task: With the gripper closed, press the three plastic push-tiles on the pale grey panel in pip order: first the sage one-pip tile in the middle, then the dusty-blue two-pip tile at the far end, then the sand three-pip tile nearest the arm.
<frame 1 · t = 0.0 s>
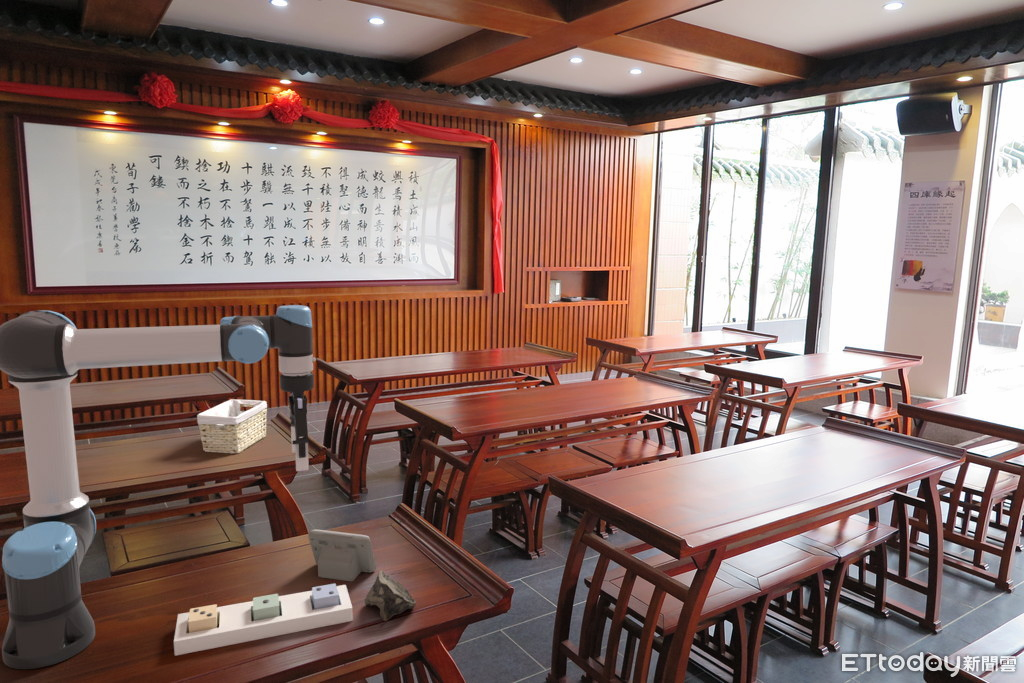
hand: (300, 460, 158), 28 cm above the table, tool pointing down, fingers open, 13 cm apart
tile three: (203, 620, 136), point 3 cm above the table, slide at 0.0 cm
grey rock: (393, 609, 148), on the table
tile two: (325, 598, 145), point 3 cm above the table, slide at 0.0 cm
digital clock: (343, 572, 163), on the table
tile panel: (267, 624, 141), on the table
tile one: (266, 609, 140), point 3 cm above the table, slide at 0.0 cm
storage basket: (235, 445, 256), on the table
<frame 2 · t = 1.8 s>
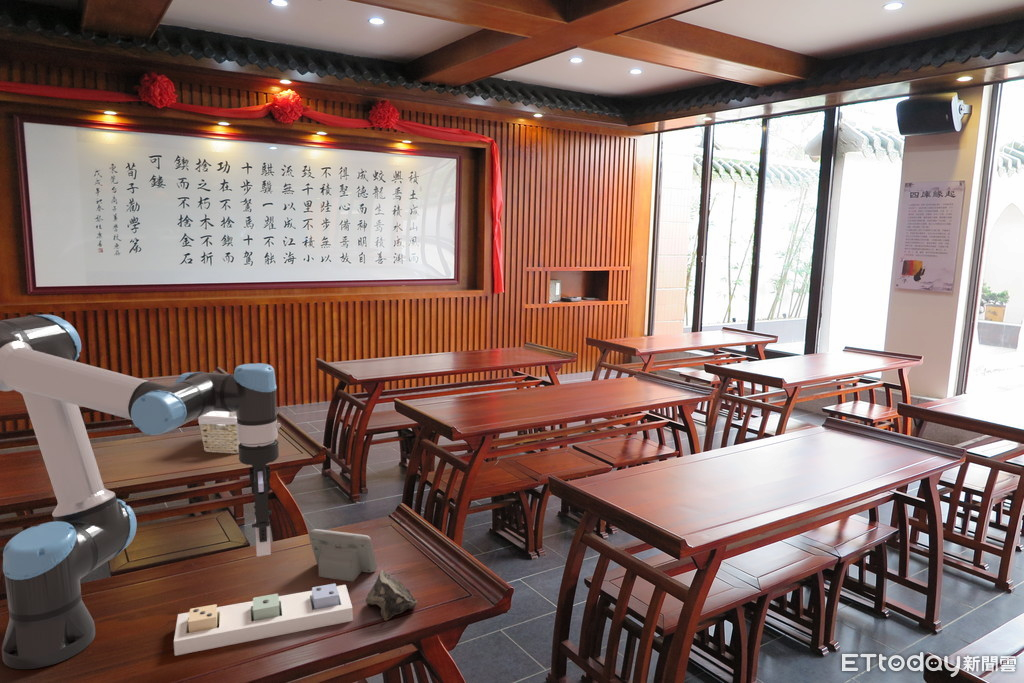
hand: (263, 550, 138), 17 cm above the table, tool pointing down, fingers open, 3 cm apart
nothing on the table moved.
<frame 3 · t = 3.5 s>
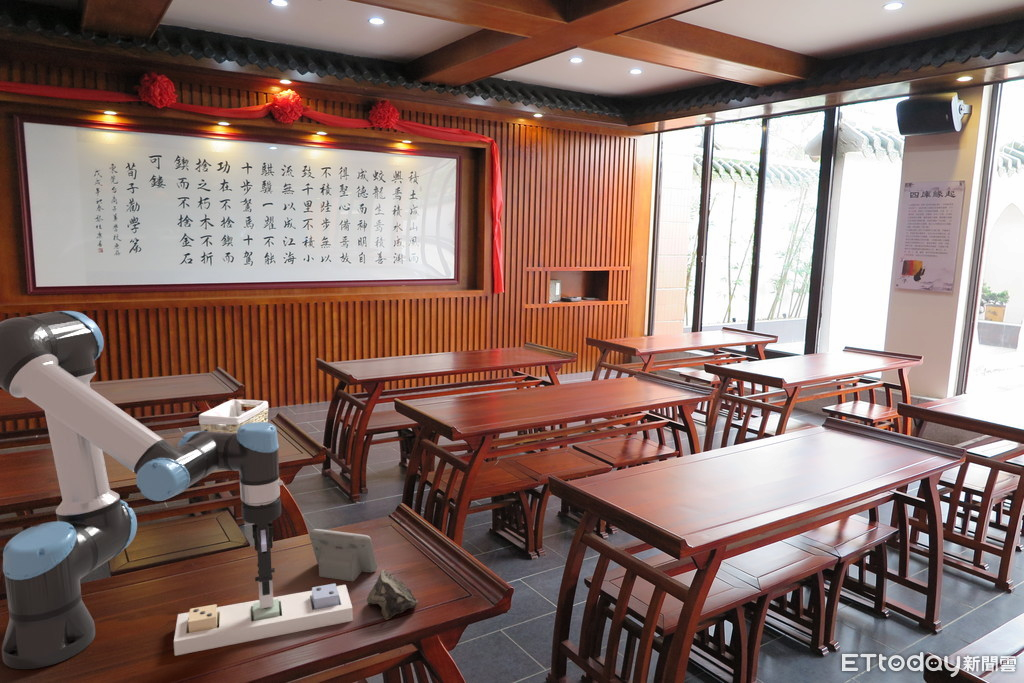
hand: (266, 605, 140), 4 cm above the table, tool pointing down, fingers closed
tile one: (266, 615, 140), point 2 cm above the table, slide at 1.3 cm, touching gripper
everything else where it was.
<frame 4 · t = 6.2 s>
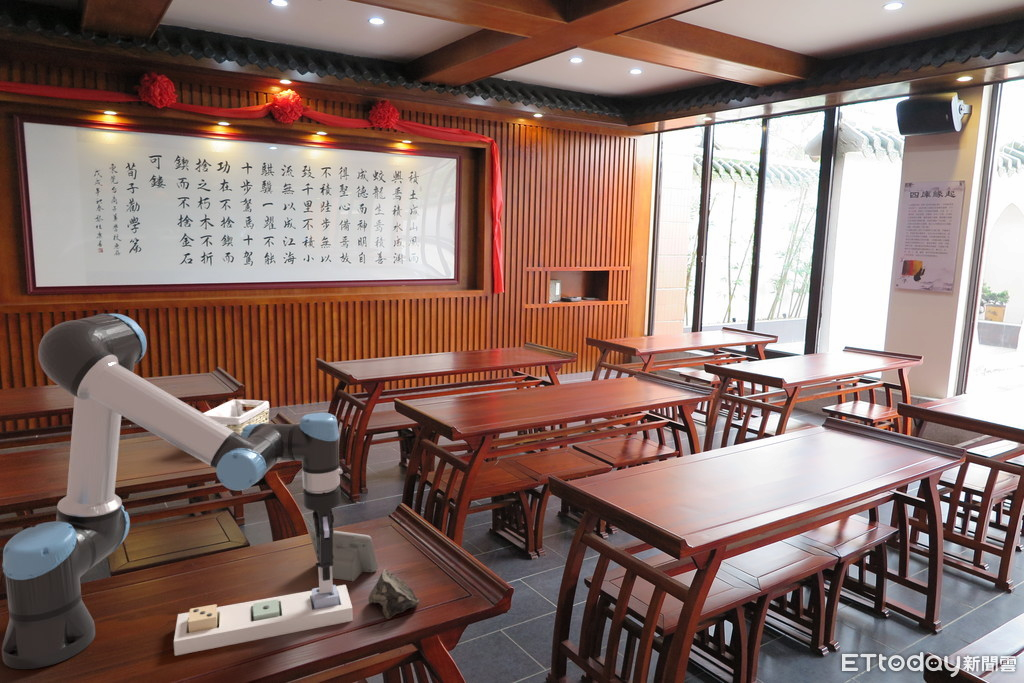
hand: (326, 590, 144), 5 cm above the table, tool pointing down, fingers closed
tile two: (325, 599, 145), point 3 cm above the table, slide at 0.3 cm, touching gripper
tile one: (266, 615, 140), point 2 cm above the table, slide at 1.3 cm
everything else where it was.
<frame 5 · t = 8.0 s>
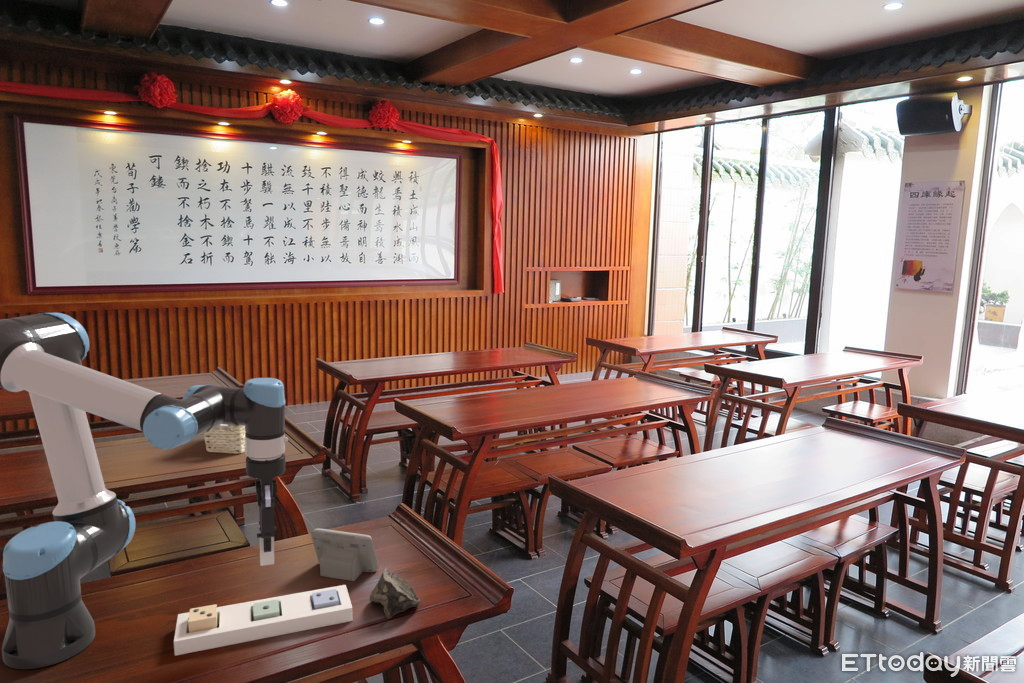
hand: (267, 563, 139), 13 cm above the table, tool pointing down, fingers closed
tile two: (325, 604, 145), point 2 cm above the table, slide at 1.3 cm
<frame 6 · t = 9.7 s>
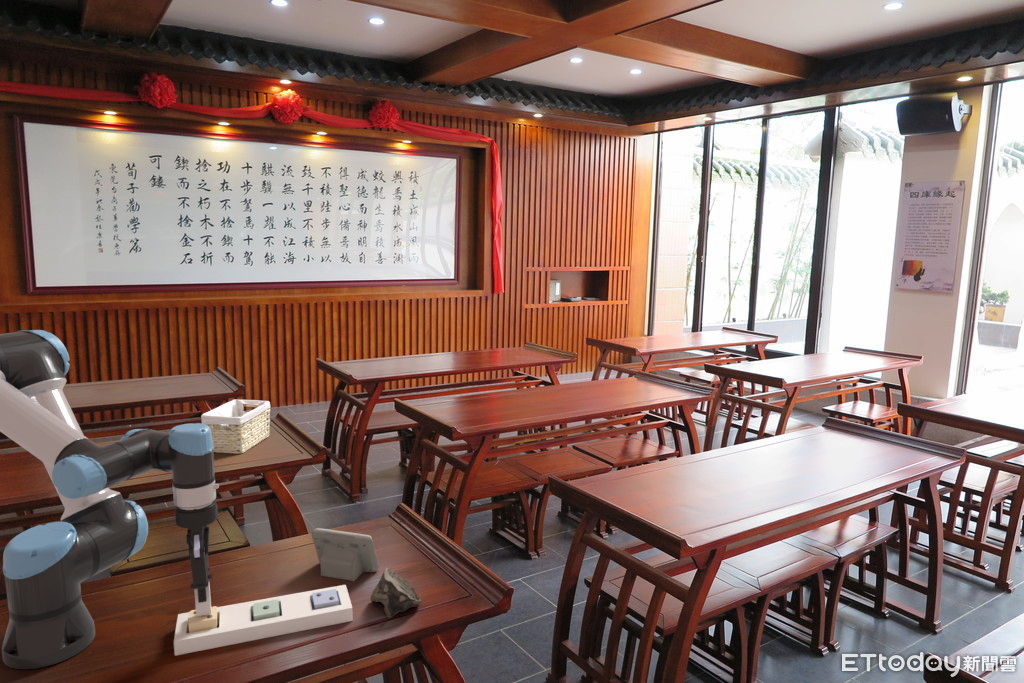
hand: (203, 613, 135), 5 cm above the table, tool pointing down, fingers closed
tile three: (203, 622, 136), point 3 cm above the table, slide at 0.4 cm, touching gripper
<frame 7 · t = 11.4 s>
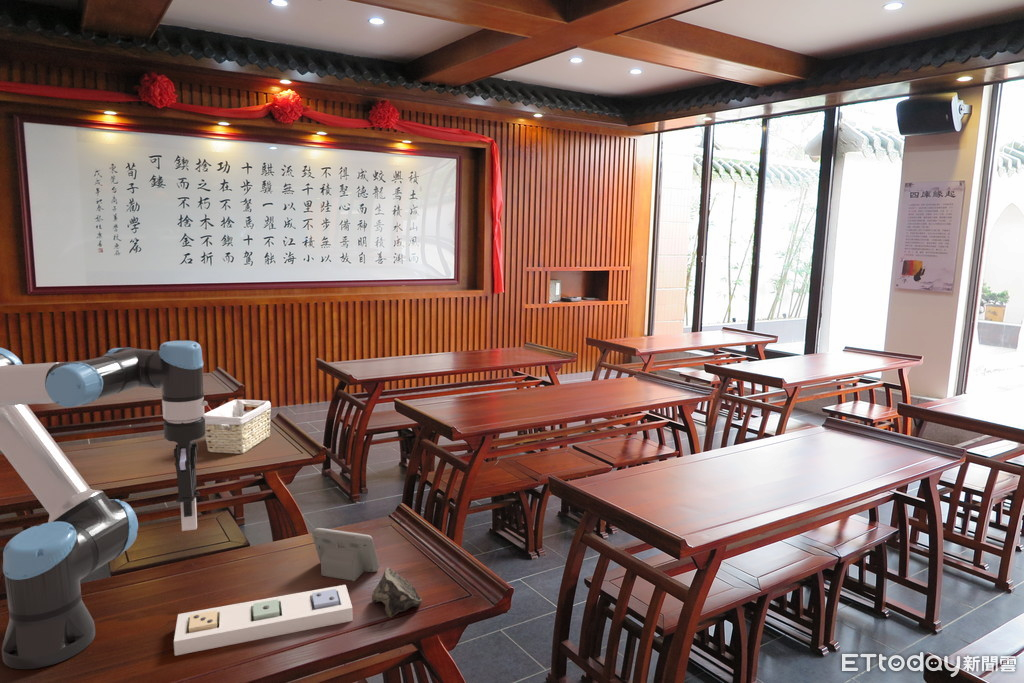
hand: (189, 528, 138), 21 cm above the table, tool pointing down, fingers closed
tile three: (203, 627, 136), point 2 cm above the table, slide at 1.4 cm
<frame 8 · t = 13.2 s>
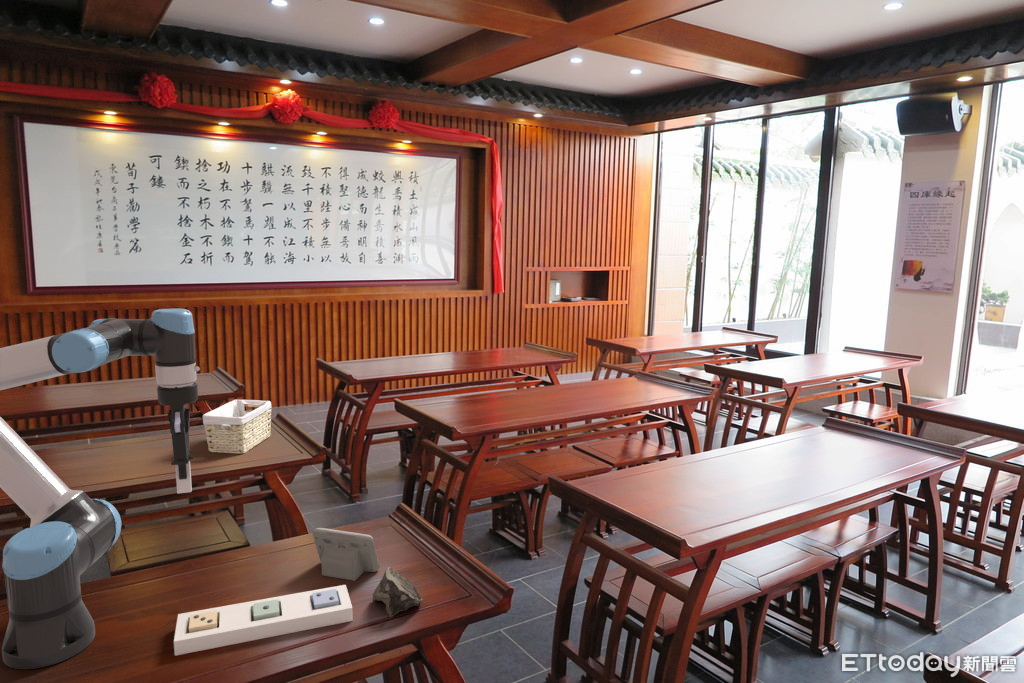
hand: (184, 491, 143), 26 cm above the table, tool pointing down, fingers closed
at the end: tile one slide at 1.3 cm; tile two slide at 1.3 cm; tile three slide at 1.4 cm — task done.
